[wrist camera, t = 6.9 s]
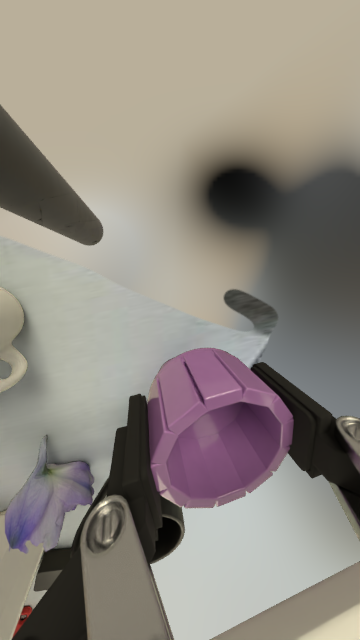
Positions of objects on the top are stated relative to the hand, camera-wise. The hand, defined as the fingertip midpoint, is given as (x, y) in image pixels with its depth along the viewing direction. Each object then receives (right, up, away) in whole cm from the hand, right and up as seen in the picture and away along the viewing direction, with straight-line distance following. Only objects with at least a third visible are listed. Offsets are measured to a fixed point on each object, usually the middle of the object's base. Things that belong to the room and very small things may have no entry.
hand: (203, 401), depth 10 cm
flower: (-18, -15, +15) cm, 28 cm away
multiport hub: (-18, -37, +18) cm, 45 cm away
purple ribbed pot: (0, 0, +1) cm, 1 cm away
